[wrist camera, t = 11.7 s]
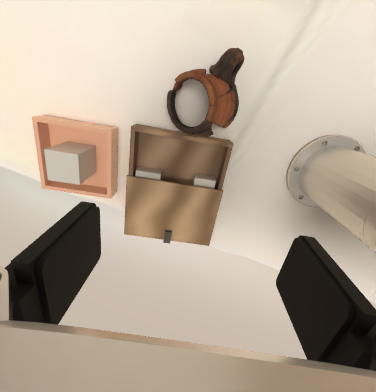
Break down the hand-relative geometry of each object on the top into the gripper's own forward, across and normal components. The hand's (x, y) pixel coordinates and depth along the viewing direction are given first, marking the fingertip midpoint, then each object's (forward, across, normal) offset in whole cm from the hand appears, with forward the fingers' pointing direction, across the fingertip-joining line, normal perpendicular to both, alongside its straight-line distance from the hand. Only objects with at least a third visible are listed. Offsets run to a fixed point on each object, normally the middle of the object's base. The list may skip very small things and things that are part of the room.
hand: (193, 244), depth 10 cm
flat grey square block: (+26, +7, +7) cm, 27 cm away
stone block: (+25, +18, +5) cm, 32 cm away
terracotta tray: (+26, +19, +5) cm, 32 cm away
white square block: (+26, -2, +7) cm, 27 cm away
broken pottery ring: (+27, 0, -7) cm, 28 cm away
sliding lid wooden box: (+26, +3, +8) cm, 28 cm away
